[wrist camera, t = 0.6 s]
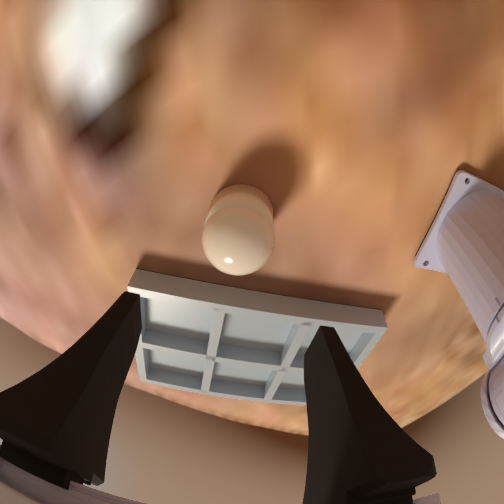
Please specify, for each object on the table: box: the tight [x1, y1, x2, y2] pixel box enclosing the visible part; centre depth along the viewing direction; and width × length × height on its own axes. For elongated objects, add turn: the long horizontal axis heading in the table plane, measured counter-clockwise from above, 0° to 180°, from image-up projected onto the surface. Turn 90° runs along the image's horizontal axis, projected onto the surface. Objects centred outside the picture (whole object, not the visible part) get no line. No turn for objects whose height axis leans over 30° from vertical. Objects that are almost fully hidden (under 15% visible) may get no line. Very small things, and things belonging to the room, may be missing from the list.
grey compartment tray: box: [128, 269, 388, 406], centre depth 27 cm, size 20×14×2 cm
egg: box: [202, 184, 275, 276], centre depth 18 cm, size 4×4×5 cm
